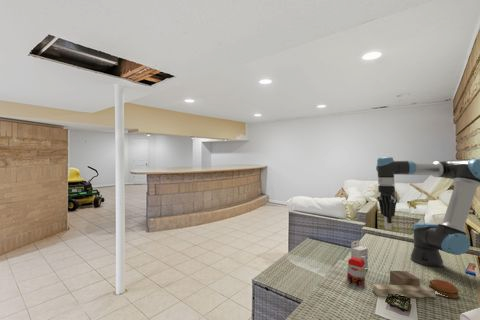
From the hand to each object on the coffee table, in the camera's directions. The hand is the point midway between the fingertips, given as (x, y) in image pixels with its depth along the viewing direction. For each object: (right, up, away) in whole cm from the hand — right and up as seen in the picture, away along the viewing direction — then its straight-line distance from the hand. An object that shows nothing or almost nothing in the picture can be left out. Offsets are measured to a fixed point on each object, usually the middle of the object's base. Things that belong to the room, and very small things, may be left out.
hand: (388, 228), depth 121 cm
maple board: (-9, -21, -24) cm, 33 cm away
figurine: (-24, -22, -14) cm, 35 cm away
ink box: (-15, -23, +1) cm, 27 cm away
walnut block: (-4, -22, -18) cm, 29 cm away
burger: (+10, -22, -22) cm, 33 cm away
